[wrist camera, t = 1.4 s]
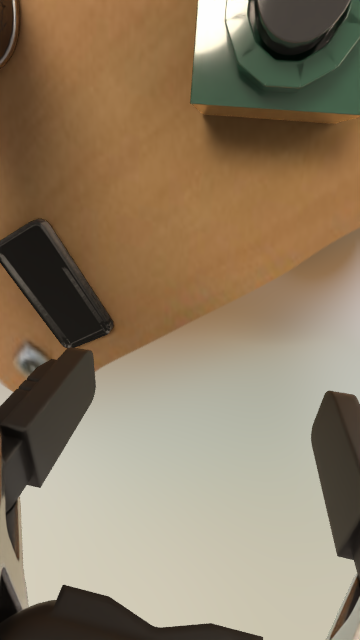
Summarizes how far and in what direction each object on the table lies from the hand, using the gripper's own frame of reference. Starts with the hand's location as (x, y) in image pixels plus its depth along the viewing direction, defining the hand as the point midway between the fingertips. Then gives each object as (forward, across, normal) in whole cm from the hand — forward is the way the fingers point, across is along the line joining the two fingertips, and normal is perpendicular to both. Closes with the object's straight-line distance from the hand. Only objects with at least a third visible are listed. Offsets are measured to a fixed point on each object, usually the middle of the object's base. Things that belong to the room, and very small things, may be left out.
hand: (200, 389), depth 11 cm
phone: (+24, +19, +9) cm, 32 cm away
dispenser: (+24, -2, -14) cm, 28 cm away
